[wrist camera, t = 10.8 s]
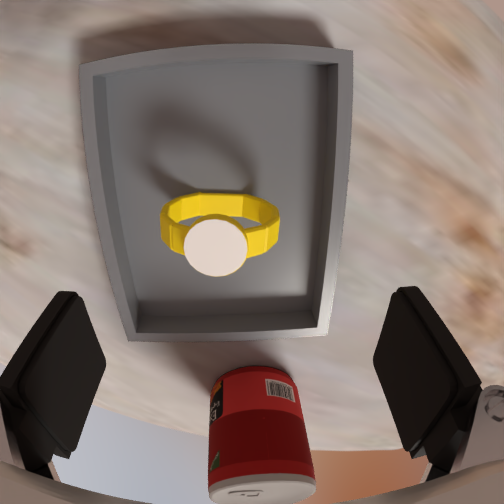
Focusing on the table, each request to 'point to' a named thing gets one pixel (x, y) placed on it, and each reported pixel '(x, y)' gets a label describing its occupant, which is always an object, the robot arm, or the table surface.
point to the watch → (219, 230)
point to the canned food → (258, 440)
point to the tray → (220, 182)
